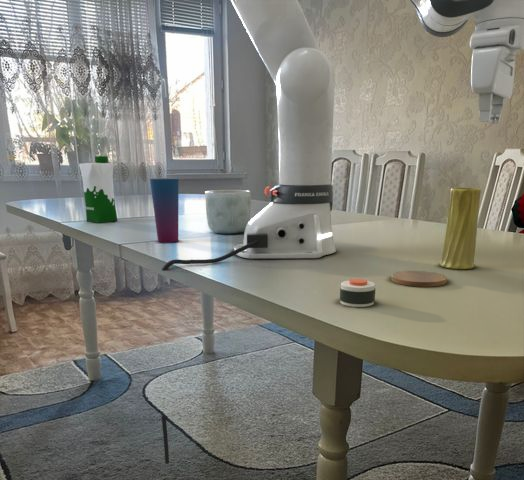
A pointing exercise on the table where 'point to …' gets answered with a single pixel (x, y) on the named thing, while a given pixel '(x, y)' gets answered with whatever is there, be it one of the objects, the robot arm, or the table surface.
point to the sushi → (357, 293)
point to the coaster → (419, 278)
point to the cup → (165, 208)
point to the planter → (228, 210)
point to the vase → (461, 229)
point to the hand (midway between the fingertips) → (489, 122)
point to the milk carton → (99, 190)
